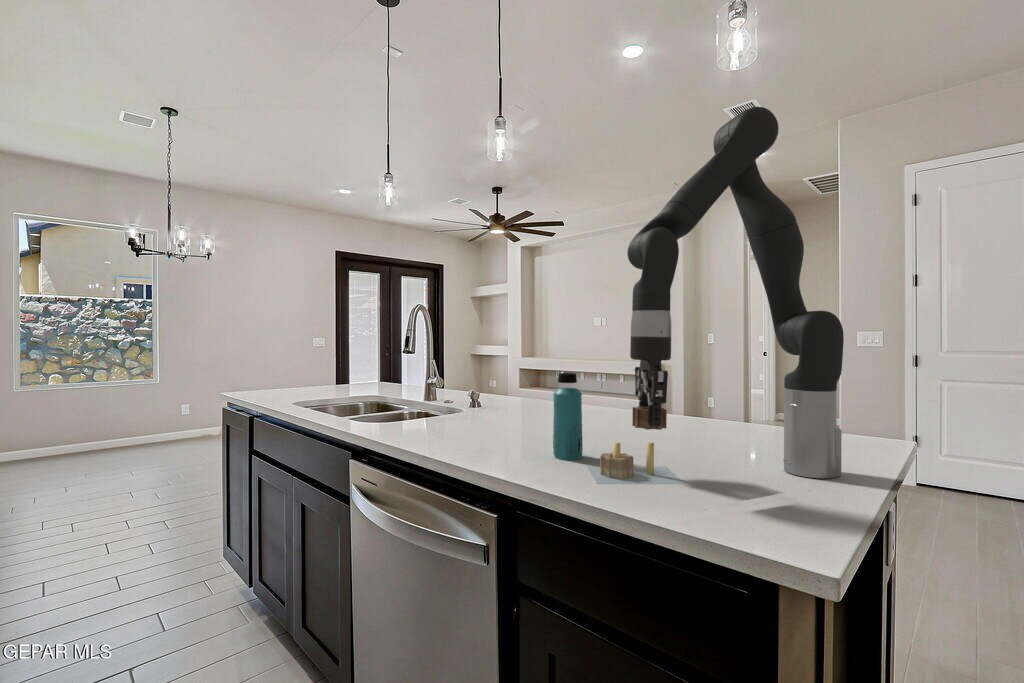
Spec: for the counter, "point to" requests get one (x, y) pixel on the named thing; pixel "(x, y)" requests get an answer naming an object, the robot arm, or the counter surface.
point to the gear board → (639, 471)
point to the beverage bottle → (567, 420)
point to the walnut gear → (642, 418)
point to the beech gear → (616, 466)
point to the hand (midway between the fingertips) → (649, 422)
